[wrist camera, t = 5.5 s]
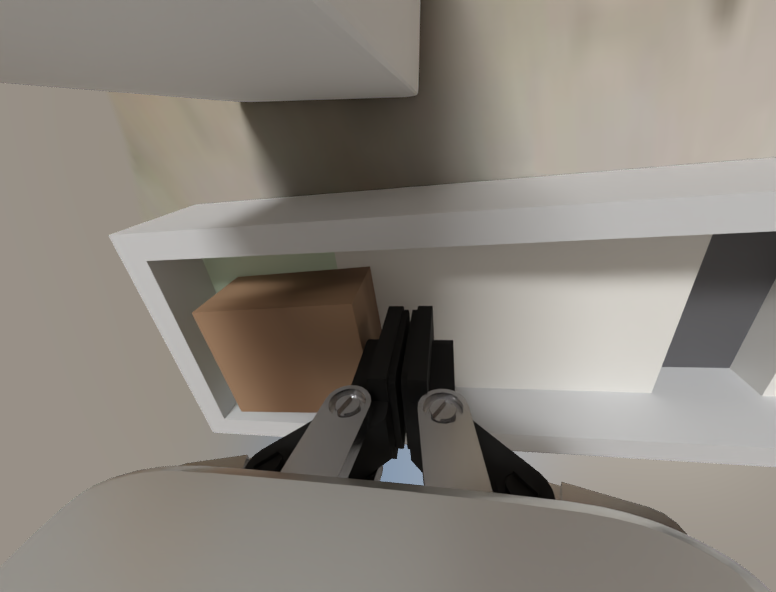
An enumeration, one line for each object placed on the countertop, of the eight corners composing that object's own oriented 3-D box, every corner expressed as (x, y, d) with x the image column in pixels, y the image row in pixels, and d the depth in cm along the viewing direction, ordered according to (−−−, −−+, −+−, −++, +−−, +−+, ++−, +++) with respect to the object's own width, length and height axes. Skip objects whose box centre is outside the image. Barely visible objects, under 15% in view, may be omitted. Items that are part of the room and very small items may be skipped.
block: (370, 266, 13) (351, 303, 10) (388, 363, 15) (377, 413, 13) (238, 276, 14) (191, 312, 11) (273, 365, 16) (241, 411, 14)
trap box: (1078, 132, 10) (1514, 142, 6) (873, 383, 14) (1035, 483, 10) (195, 204, 15) (108, 235, 11) (258, 369, 20) (212, 432, 16)
